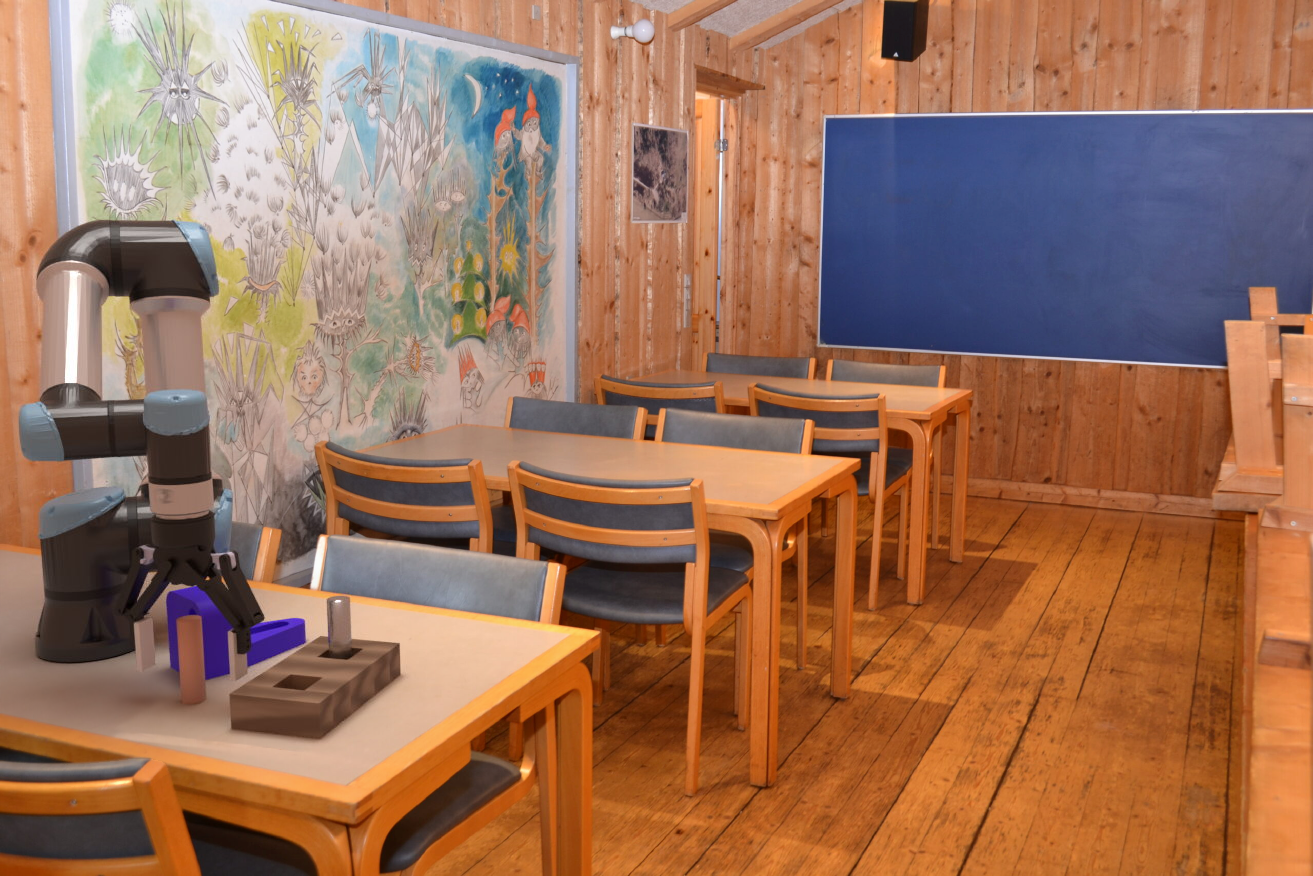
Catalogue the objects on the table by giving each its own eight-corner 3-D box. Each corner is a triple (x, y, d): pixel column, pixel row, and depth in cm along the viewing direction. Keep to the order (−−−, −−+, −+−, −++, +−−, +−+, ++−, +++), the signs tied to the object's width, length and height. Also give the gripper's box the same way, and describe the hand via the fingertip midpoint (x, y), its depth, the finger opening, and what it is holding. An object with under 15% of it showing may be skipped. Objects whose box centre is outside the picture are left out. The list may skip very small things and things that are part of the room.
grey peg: (326, 687, 156) (322, 601, 154) (337, 679, 159) (333, 594, 157) (346, 689, 155) (343, 603, 153) (357, 681, 158) (354, 596, 156)
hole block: (320, 746, 140) (318, 703, 139) (231, 736, 143) (229, 694, 142) (400, 681, 161) (399, 643, 160) (322, 673, 164) (320, 636, 163)
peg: (177, 710, 151) (171, 621, 149) (191, 701, 154) (185, 614, 152) (197, 712, 150) (192, 623, 148) (211, 704, 153) (206, 616, 151)
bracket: (205, 688, 159) (200, 605, 157) (170, 668, 166) (165, 588, 164) (323, 655, 171) (320, 578, 169) (286, 638, 179) (282, 563, 177)
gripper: (76, 513, 147) (89, 673, 150) (254, 525, 141) (262, 691, 145) (116, 500, 154) (127, 654, 157) (287, 511, 148) (294, 670, 152)
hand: (192, 672), depth 151 cm, fingers open, 13 cm apart
